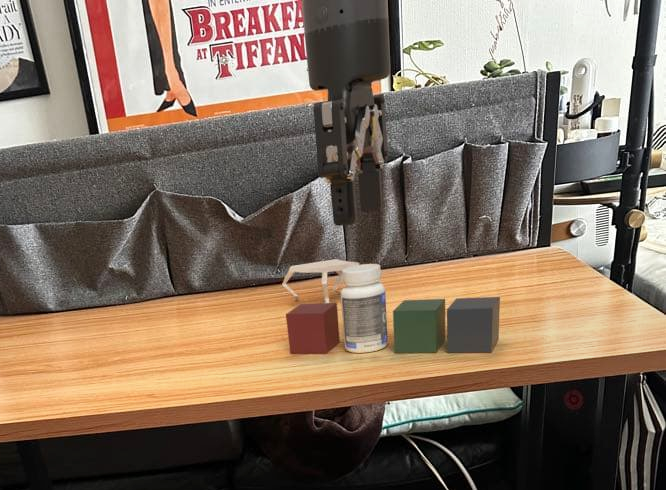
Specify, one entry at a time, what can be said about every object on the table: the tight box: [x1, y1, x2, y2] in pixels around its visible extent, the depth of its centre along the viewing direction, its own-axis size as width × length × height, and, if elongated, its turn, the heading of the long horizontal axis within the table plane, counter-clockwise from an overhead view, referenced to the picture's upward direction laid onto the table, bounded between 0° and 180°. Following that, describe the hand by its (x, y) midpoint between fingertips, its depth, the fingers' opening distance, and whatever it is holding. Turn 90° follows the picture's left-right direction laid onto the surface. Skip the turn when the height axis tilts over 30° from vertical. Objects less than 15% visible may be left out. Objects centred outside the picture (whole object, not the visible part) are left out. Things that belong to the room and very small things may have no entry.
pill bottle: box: [339, 263, 389, 354], centre depth 77 cm, size 5×5×8 cm
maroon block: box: [285, 302, 341, 355], centre depth 81 cm, size 4×4×4 cm
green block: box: [392, 298, 446, 354], centre depth 76 cm, size 4×4×4 cm
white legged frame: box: [281, 258, 360, 303], centre depth 101 cm, size 12×8×5 cm
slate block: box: [446, 296, 501, 354], centre depth 73 cm, size 4×4×4 cm
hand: (359, 217), depth 73 cm, fingers open, 8 cm apart
